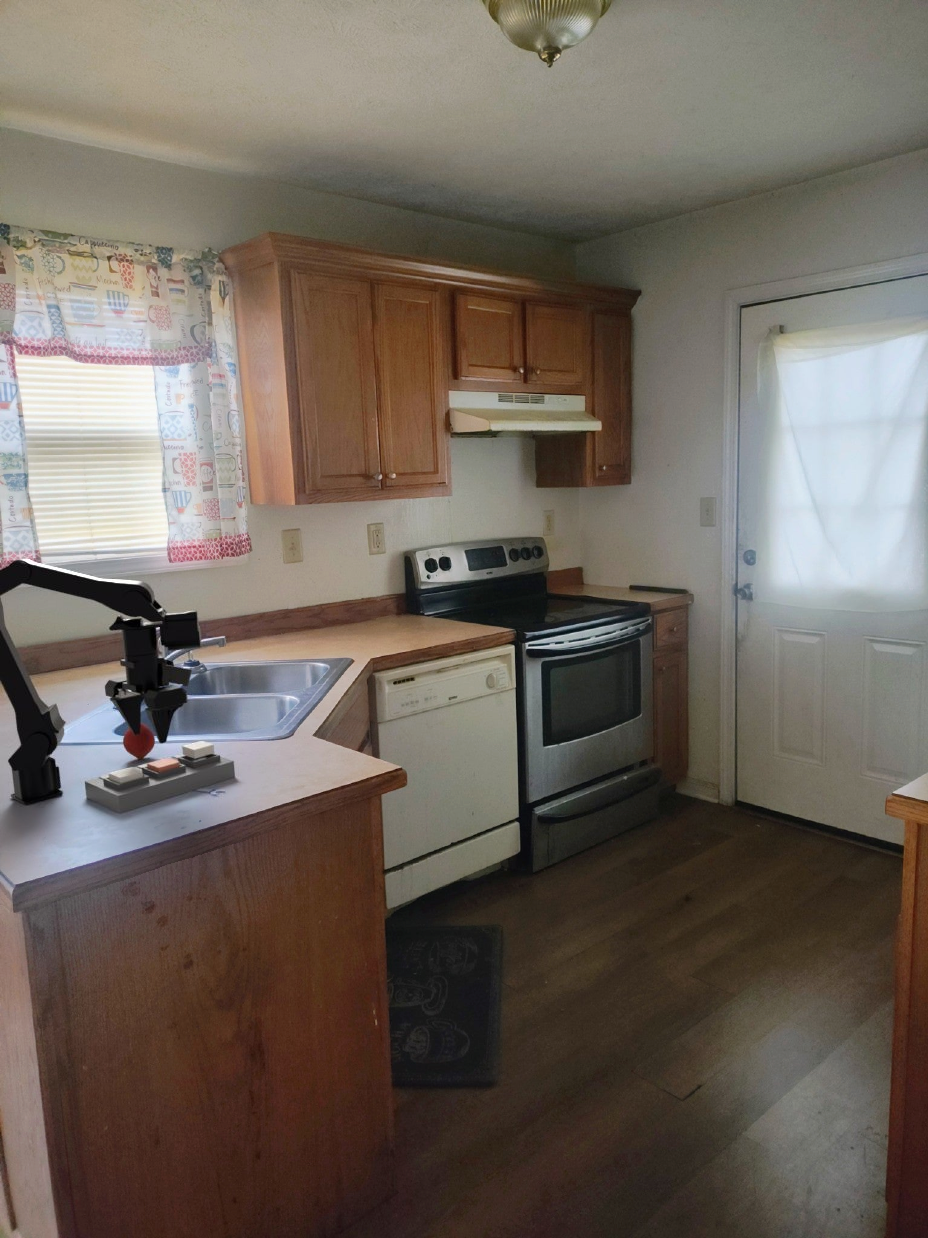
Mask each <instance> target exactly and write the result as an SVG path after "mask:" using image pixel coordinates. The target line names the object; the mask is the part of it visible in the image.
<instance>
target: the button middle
mask: <svg viewBox="0 0 928 1238" xmlns="http://www.w3.org/2000/svg"><path fill="white" fill-rule="evenodd" d="M150 762H151V763H150ZM150 762H147V763H146V764H147V768H148V769H150V770H153V771H156V772H158V773H159V772H162V771H165V770H169V769H172V768H176V767H179V766H180V762H179V761H176V760H173V759H170V758H169V757H166V758H162V759H158V760H154V761H150Z"/></svg>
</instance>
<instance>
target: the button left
mask: <svg viewBox="0 0 928 1238" xmlns="http://www.w3.org/2000/svg"><path fill="white" fill-rule="evenodd" d="M108 774H109V780H112V781H114V782H116V783H119V784H121V783H124V782H128V781H131V780H135V779H138V778H141V777H143V773H142V771H140V770H137V769H135V768H134V767H132V766H129V767H125V768H122V769H118V770H115V771H111V772H108Z"/></svg>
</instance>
